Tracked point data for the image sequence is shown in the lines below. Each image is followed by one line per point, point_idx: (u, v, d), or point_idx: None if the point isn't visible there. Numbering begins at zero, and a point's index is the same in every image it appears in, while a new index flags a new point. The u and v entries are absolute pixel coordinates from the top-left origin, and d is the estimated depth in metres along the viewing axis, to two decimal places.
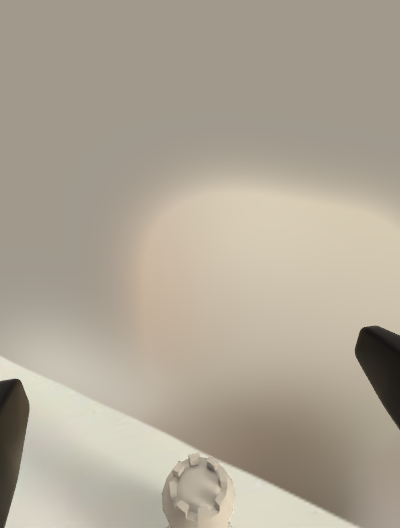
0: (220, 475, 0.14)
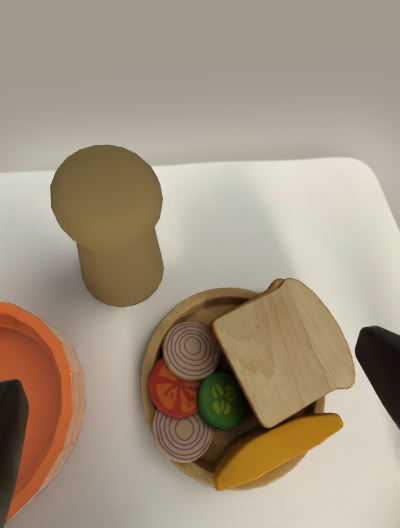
0: None
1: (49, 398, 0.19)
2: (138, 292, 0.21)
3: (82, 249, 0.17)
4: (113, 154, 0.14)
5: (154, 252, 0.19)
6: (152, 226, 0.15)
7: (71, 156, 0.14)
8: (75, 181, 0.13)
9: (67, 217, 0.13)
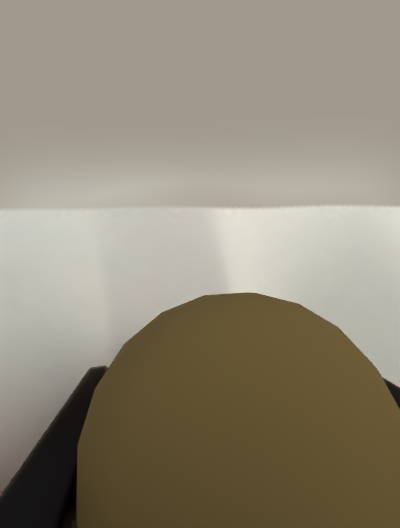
0: None
1: None
2: None
3: None
4: (295, 364, 0.04)
5: None
6: None
7: (155, 361, 0.04)
8: (174, 514, 0.03)
9: None
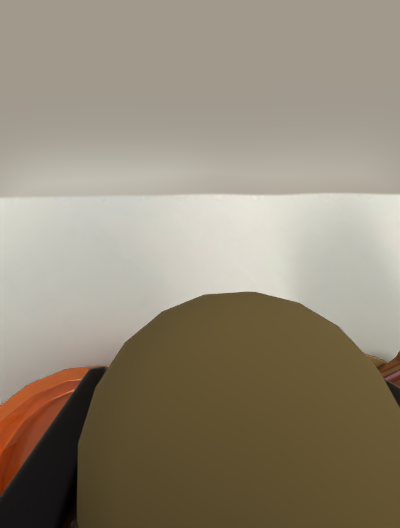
0: None
1: None
2: None
3: None
4: (295, 362, 0.04)
5: None
6: None
7: (156, 359, 0.04)
8: (175, 512, 0.03)
9: None
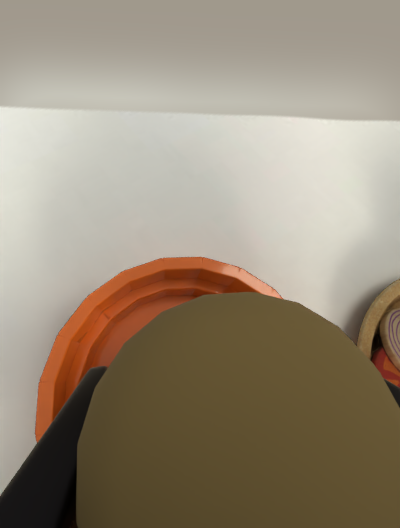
0: None
1: None
2: None
3: None
4: (295, 363, 0.04)
5: None
6: None
7: (155, 359, 0.04)
8: (173, 512, 0.03)
9: None
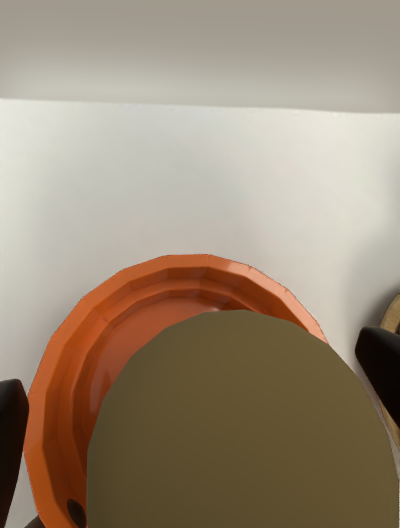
0: None
1: None
2: None
3: None
4: (286, 379, 0.05)
5: None
6: None
7: (160, 375, 0.05)
8: (175, 513, 0.04)
9: None
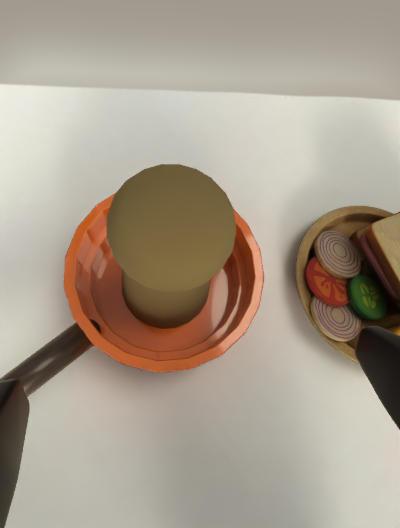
0: None
1: (218, 280, 0.22)
2: (183, 318, 0.19)
3: None
4: (185, 179, 0.12)
5: (208, 280, 0.17)
6: (222, 267, 0.12)
7: (136, 177, 0.12)
8: (140, 213, 0.11)
9: (128, 256, 0.11)
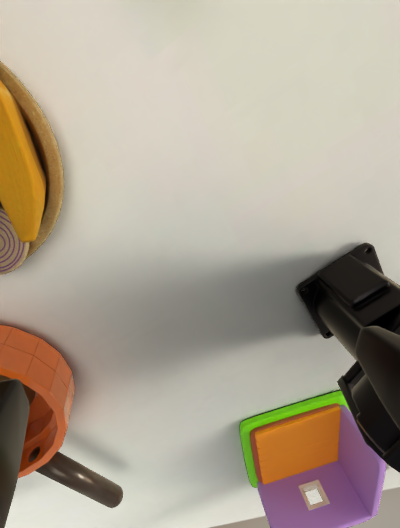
0: None
1: None
2: None
3: None
4: None
5: None
6: None
7: None
8: None
9: None
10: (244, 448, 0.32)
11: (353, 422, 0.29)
